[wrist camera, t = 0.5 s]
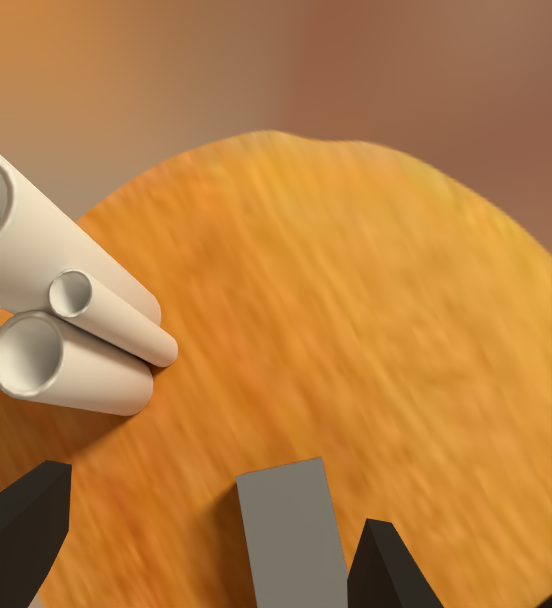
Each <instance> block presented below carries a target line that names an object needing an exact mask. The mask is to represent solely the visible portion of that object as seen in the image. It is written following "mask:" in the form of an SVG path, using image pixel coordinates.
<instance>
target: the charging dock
mask: <svg viewBox="0 0 552 608" xmlns="http://www.w3.org/2000/svg"><path fill="white" fill-rule="evenodd" d="M236 482H237V488H238V494H239V500H240V506H241V512H242V518H243V524H244V530H245V536H246V542H247V548H248V554H249V560H250V566H251V572H252V578H253V584H254V590H255V596H256V602H257V608H348V601H347V579H348V572H347V568H346V563H345V559H344V555H343V550H342V546H341V541H340V537H339V532H338V528H337V523H336V519H335V514H334V510H333V505H332V501H331V496H330V492H329V487H328V483H327V479H326V474H325V470H324V465H323V461H322V457H317V458H313V459H308V460H303V461H299V462H294V463H290V464H285V465H280V466H276V467H271V468H266V469H262V470H257V471H252V472H248V473H244V474H241V475H238V476H236Z"/></svg>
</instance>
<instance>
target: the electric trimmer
mask: <svg viewBox="0 0 552 608" xmlns="http://www.w3.org/2000/svg"><path fill="white" fill-rule="evenodd" d="M541 608H552V598H551V599H550V600H549V601H548V602H546V603H545V604H544V605H543V606H542V607H541Z"/></svg>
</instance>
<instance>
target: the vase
mask: <svg viewBox="0 0 552 608" xmlns="http://www.w3.org/2000/svg"><path fill="white" fill-rule="evenodd" d="M0 308H1V309H3V310H6V311H8V312H10V313H13V314H15V315H14V316H13V317H11V318H9V319H8V320H7V321H6V322H5V323H4V324H3V325H2V326H1V327H0V390H1V391H2V392H4V393H5V394H7V395H9V396H10V397H12V398H16V399H22V400H27V401H34V402H40V403H46V404H52V405H59V406H65V407H71V408H78V409H84V410H90V411H96V412H103V413H109V414H115V415H121V416H130V415H135V414H137V413H138V412H140V411H142V410H143V409H144V408H145V406H146V405H147V404H148V403H149V400H150V398H151V396H152V392H153V378H152V374H151V372H150V370H149V367H148V366H147V365H146V364H145V363H144V362H143V361H142V360H140V359H138V358H137V357H135V356H133V354H134V355H136V356H138V357H140V358H142V359H144V360H146V361H148V362H150V363H152V364H154V365H156V366H158V367H168V366H170V365H171V364H172V363H173V362H174V361H175V360H176V358H177V355H178V346H177V343H176V341H175V340H174V339H173V337H172V336H170V335H169V334H168V333H166V332H165V331H164V330H162V329H161V328H160V322H161V310H160V306H159V304H158V302H157V300H156V298H155V297H154V296H153V295H152V294H151V293H150V292H149V291H148V290H147V289H146V288H145V287H144V286H142V285H141V284H140V283H139V282H138V281H137V280H136V279H135V278H134V277H133V276H132V275H130V274H129V273H128V272H127V271H126V270H125V269H124V268H123V267H122V266H121V265H120V264H118V263H117V262H116V261H115V260H114V259H113V258H112V257H111V256H110V255H109V254H108V253H107V252H105V251H104V250H103V249H102V248H101V247H100V246H99V245H98V244H97V243H96V242H95V241H93V240H92V239H91V238H90V237H89V236H88V235H87V234H86V233H85V232H84V231H83V230H82V229H80V228H79V227H78V226H77V225H76V224H75V223H74V222H73V221H72V220H71V219H70V218H68V217H67V216H66V215H65V214H64V213H63V212H62V211H61V210H60V209H59V208H58V207H57V206H55V205H54V204H53V203H52V202H51V201H50V200H49V199H48V198H47V197H46V196H45V195H43V194H42V193H41V192H40V191H39V190H38V189H37V188H36V187H35V186H34V185H33V184H32V183H30V182H29V181H28V180H27V179H26V178H25V177H24V176H23V175H22V174H21V173H19V172H18V171H17V170H16V169H15V168H14V167H13V166H12V165H11V164H10V163H9V162H8V161H6V160H5V159H4V158H3V157H2V156H1V155H0Z"/></svg>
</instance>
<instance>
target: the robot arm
mask: <svg viewBox="0 0 552 608" xmlns="http://www.w3.org/2000/svg"><path fill="white" fill-rule="evenodd" d="M71 471H72V465H70V464H65V463H59V462H54V461H48V460H46V461H45V462H43V463H41V464H40V465H39V466H37V467H36V468H34V469H33V470H31V471H30V472H28V473H27V474H26V475H24V476H23V477H21V478H20V479H18V480H17V481H16V482H14V483H13V484H11V485H10V486H9V487H7V488H6V489H4V490H3V491H1V492H0V608H28V606H29V605H30V603H31V601H32V600H33V598H34V597H35V595H36V593H37V592H38V590H39V588H40V587H41V585H42V583H43V582H44V580H45V578H46V577H47V575H48V573H49V571H50V569H51V567H52V565H53V563H54V561H55V559H56V557H57V555H58V552H59V550H60V548H61V546H62V544H63V542H64V540H65V537H66V535H67V533H68V531H69V511H70V491H71ZM347 601H348V608H444V607H443V605H442V604H441V602H440V601H439V599H438V598H437V596H436V594H435V593H434V591H433V590H432V588H431V587H430V585H429V584H428V582H427V580H426V579H425V577H424V576H423V574H422V572H421V571H420V569H419V567H418V566H417V564H416V562H415V561H414V559H413V557H412V556H411V554H410V552H409V551H408V549H407V547H406V546H405V544H404V542H403V541H402V539H401V537H400V536H399V534H398V532H397V531H396V529H395V527H394V526H393V524H392V523H390V522H385V521H379V520H374V519H368V518H367V519H366V522H365V525H364V529H363V532H362V535H361V538H360V541H359V544H358V547H357V551H356V554H355V557H354V560H353V563H352V566H351V569H350V573H349V576H348V579H347Z"/></svg>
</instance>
